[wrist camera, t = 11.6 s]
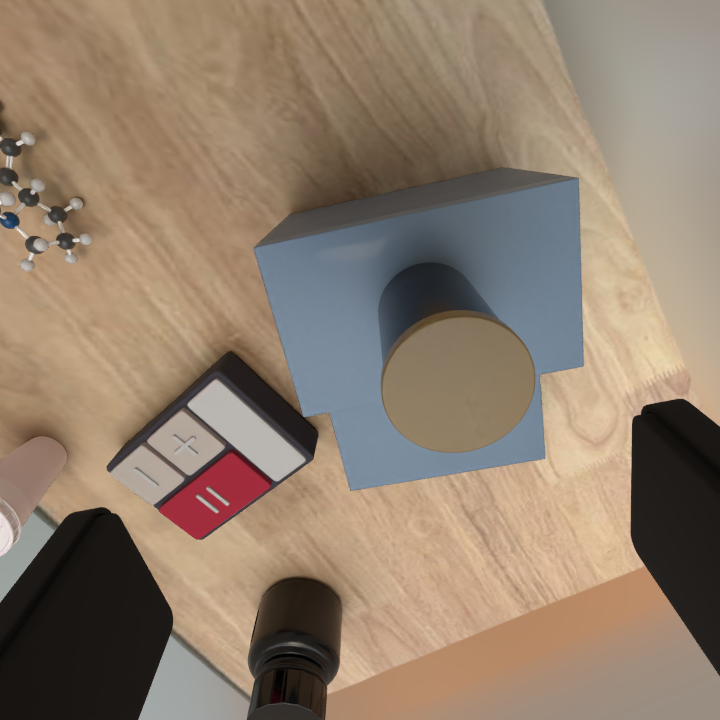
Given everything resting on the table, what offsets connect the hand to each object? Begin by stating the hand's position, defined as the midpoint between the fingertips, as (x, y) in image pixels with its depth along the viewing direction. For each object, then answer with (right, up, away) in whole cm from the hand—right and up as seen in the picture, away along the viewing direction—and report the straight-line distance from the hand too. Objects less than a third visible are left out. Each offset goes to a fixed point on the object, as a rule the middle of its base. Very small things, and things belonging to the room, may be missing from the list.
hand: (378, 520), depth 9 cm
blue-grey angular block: (+5, +5, +31) cm, 32 cm away
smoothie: (-29, -6, +36) cm, 47 cm away
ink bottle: (-7, -24, +44) cm, 50 cm away
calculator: (-13, -4, +35) cm, 38 cm away
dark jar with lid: (+3, +5, +17) cm, 18 cm away
